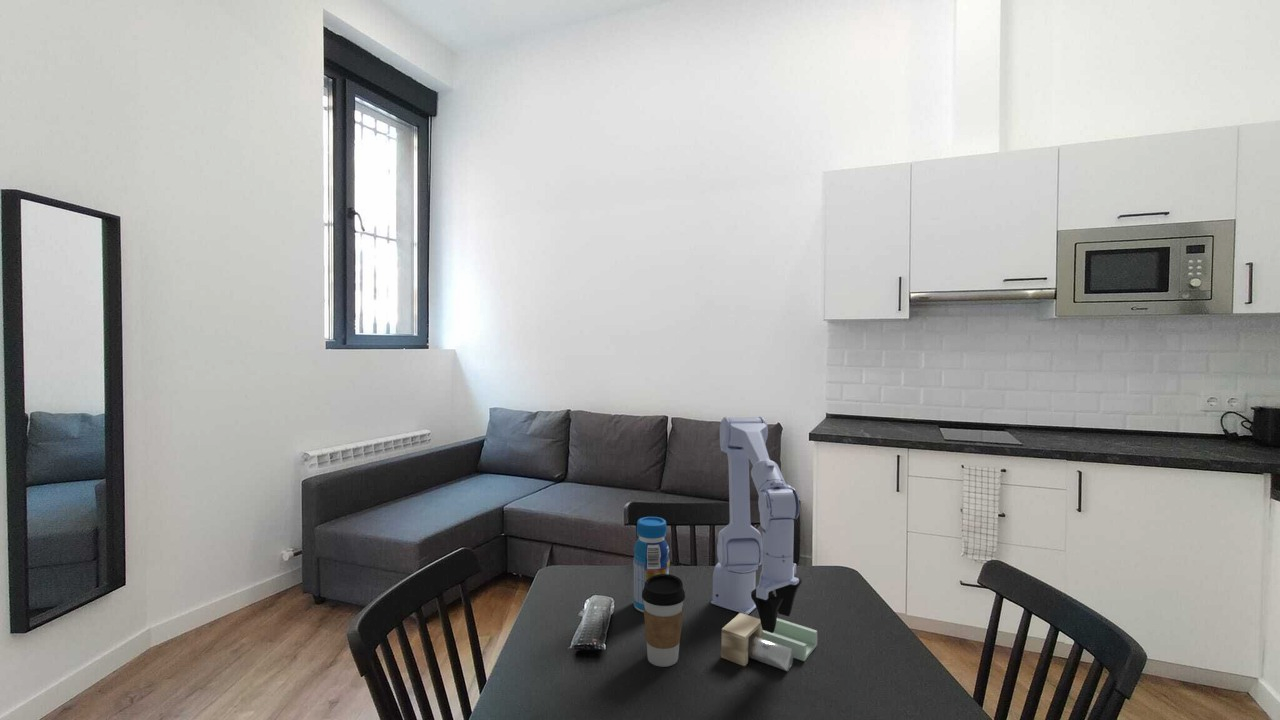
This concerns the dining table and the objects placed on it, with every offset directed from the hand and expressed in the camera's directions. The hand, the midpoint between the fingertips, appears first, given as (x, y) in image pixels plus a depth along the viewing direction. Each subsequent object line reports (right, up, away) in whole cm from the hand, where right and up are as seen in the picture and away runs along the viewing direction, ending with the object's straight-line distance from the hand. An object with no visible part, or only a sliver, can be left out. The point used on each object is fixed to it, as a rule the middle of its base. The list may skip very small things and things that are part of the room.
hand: (776, 622), depth 108 cm
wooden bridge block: (-6, -8, +5) cm, 11 cm away
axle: (-3, -8, +2) cm, 9 cm away
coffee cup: (-21, -8, +2) cm, 23 cm away
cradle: (+4, -8, +7) cm, 12 cm away
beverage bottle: (-23, -7, +24) cm, 34 cm away
